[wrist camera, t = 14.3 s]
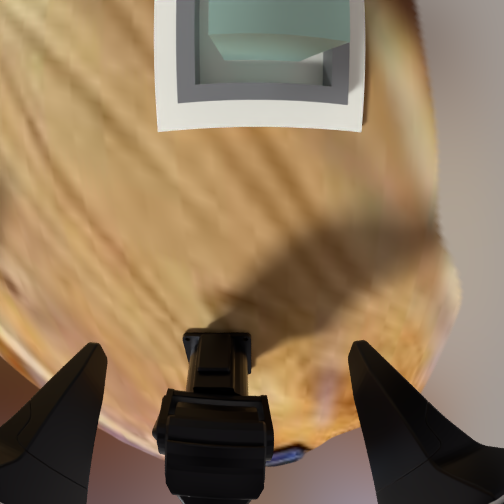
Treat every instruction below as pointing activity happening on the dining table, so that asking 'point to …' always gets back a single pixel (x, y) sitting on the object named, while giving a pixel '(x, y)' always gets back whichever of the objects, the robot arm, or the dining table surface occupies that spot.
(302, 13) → the teal green block
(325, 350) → the dining table surface
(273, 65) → the white grey square base
